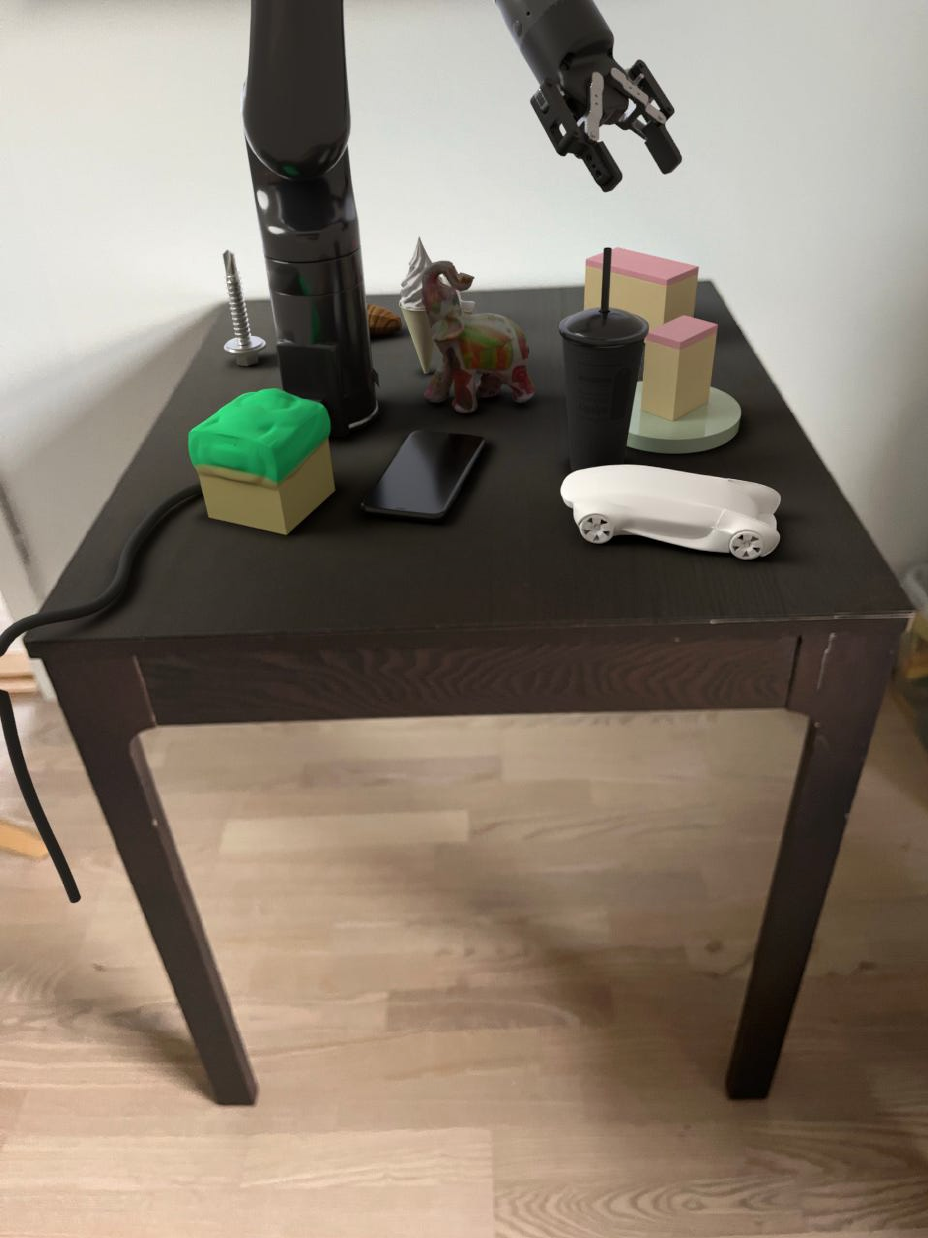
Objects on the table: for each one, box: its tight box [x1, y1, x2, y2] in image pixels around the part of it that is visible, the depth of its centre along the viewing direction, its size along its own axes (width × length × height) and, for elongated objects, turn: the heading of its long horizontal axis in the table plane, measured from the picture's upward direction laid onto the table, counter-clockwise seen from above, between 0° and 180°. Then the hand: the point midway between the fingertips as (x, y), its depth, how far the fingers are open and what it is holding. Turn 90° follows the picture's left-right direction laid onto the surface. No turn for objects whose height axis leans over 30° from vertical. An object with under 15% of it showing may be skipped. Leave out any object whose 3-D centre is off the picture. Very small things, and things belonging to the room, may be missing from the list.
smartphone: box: [360, 429, 487, 523], centre depth 90 cm, size 8×1×16 cm
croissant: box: [367, 301, 403, 337], centre depth 119 cm, size 14×7×5 cm, turn 85°
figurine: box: [421, 260, 536, 414], centre depth 98 cm, size 8×12×15 cm, turn 73°
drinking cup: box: [558, 246, 649, 473], centre depth 85 cm, size 8×8×20 cm
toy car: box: [560, 464, 782, 561], centre depth 81 cm, size 18×8×4 cm, turn 75°
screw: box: [221, 249, 267, 367], centre depth 111 cm, size 13×5×5 cm
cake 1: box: [187, 387, 336, 536], centre depth 85 cm, size 10×11×10 cm
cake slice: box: [641, 315, 719, 421], centre depth 95 cm, size 4×6×8 cm, turn 134°
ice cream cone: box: [398, 236, 443, 375], centre depth 106 cm, size 5×5×15 cm
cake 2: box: [583, 246, 700, 344], centre depth 116 cm, size 12×6×8 cm, turn 44°
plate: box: [626, 380, 742, 454], centre depth 98 cm, size 14×14×2 cm
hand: (645, 176), depth 88 cm, fingers open, 8 cm apart
